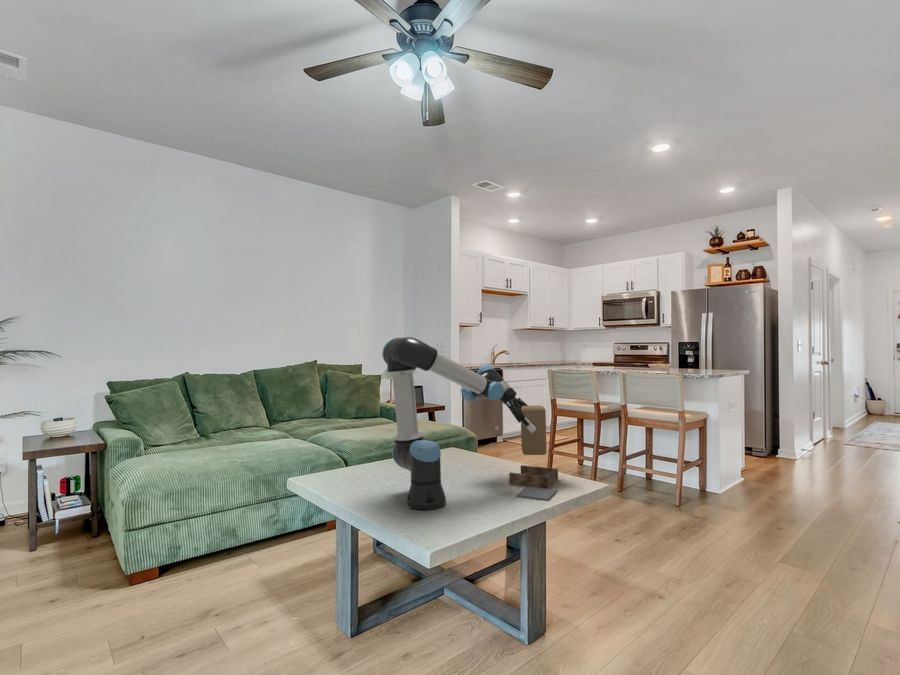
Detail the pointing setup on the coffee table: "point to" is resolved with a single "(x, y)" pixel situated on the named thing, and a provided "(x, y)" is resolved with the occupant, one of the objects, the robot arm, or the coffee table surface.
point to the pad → (537, 493)
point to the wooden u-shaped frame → (534, 477)
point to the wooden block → (537, 439)
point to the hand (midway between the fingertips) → (538, 428)
